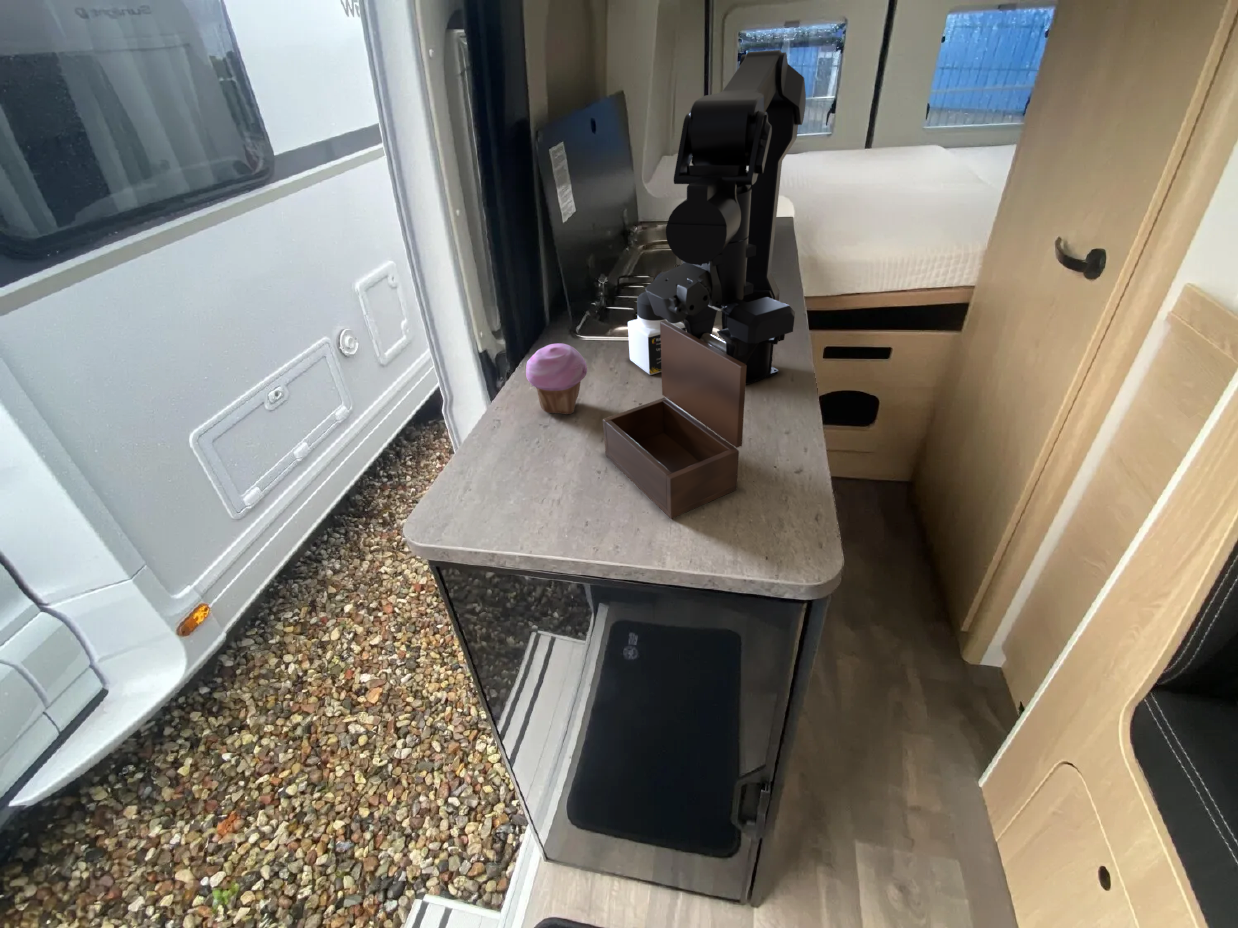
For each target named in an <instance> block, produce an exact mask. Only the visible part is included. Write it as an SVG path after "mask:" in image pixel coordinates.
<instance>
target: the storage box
mask: <svg viewBox="0 0 1238 928" xmlns="http://www.w3.org/2000/svg"><path fill="white" fill-rule="evenodd" d="M602 429H603V441H604V451H605V457H606V458H607V459H608V460H609V461H610V462H612V464H614V466H616V467H617V469H619V471H621V472H622V473H623V474H624V475H625V476H626V477H627V478H628V479H629V480H630V481H631V482H632V483H633V484H634V485H635V486H637V488H638V489H640V490H641V492H642V493H644V494H645V495H646V496H647V498H649V499H650V500H651V501H652V502H653V503H654V504H655V505H656V506H657V507H658V508H659V509H660V510H662V512H663V513H665V515H666V516H667V517H668V518H670V519H674V518H677V517H679V516H681V515H683V514H685V513H687V512H690V511H692V510H695V509H697V508H699V507H701V506H703V505H705V504H708V503H710V502H712V501H714V500H717V499H719V498H722V497H724V496H726V495H728V494H730V493H732V492H736V491H737V489H738V473H739V457H740V450H739V449H738V448H736V447H735V446H733V445H732V444H730V443H729V442H728V441H726V440H725V439H723V438H722V437H721V436H719V435H718V434H716V433H715V432H714V431H712V430H711V429H709V428H708V427H707V426H705V425H704V424H702V423H701V422H700V421H698V420H697V419H695V418H694V417H693V416H691V415H690V414H688V413H687V412H686V411H684V410H683V409H682V408H680V407H679V406H677V405H676V404H675V403H673V402H672V401H670V400H669V399H668V398H666V397H665V396H663V397H662V398H659V399H656V400H653V401H650V402H647V403H644V404H642V405H639V406H635V407H633V408H629V409H627V410H624V411H622V412H619V413H616V414H614V415H613V414H612V415H610V416H608V417H605V418H602Z"/></svg>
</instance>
